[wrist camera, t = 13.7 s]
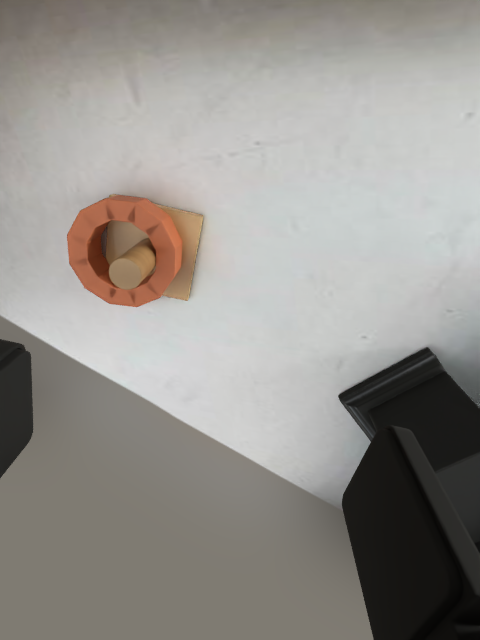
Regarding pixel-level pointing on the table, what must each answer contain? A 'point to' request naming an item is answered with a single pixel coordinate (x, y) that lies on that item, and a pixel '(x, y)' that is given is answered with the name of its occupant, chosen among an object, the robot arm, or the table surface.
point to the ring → (95, 266)
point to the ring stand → (151, 252)
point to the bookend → (428, 425)
